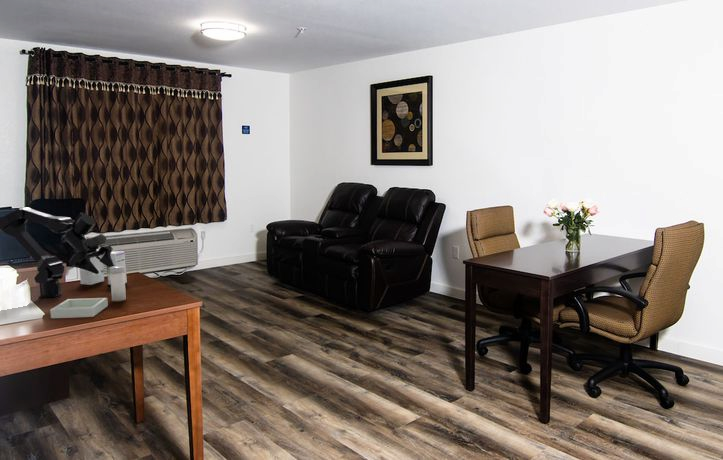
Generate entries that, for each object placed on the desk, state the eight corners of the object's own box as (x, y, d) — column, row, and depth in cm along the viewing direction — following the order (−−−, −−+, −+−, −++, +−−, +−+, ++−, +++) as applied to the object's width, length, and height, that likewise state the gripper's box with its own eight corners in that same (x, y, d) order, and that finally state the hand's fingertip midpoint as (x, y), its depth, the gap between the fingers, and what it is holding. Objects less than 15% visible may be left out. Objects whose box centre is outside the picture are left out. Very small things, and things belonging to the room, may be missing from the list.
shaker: (109, 301, 203) (107, 268, 201) (114, 298, 208) (112, 265, 206) (123, 300, 203) (121, 268, 202) (128, 297, 209) (125, 265, 207)
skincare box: (90, 285, 230) (88, 251, 228) (79, 284, 232) (77, 251, 230) (105, 281, 238) (102, 248, 236) (94, 280, 240) (92, 248, 238)
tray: (50, 318, 181) (50, 309, 181) (68, 307, 195) (68, 299, 195) (93, 316, 183) (92, 308, 182) (107, 305, 197) (107, 297, 196)
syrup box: (127, 282, 234) (125, 250, 232) (117, 285, 228) (115, 253, 227) (117, 281, 236) (115, 250, 234) (107, 284, 230) (104, 252, 228)
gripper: (73, 231, 195) (101, 261, 194) (106, 225, 213) (133, 252, 212) (56, 252, 198) (84, 281, 197) (91, 244, 216) (117, 271, 215)
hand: (106, 270), depth 205 cm, fingers open, 9 cm apart
